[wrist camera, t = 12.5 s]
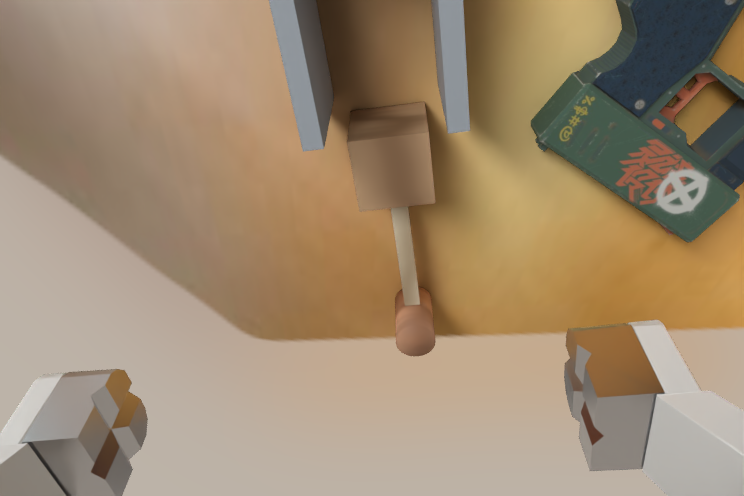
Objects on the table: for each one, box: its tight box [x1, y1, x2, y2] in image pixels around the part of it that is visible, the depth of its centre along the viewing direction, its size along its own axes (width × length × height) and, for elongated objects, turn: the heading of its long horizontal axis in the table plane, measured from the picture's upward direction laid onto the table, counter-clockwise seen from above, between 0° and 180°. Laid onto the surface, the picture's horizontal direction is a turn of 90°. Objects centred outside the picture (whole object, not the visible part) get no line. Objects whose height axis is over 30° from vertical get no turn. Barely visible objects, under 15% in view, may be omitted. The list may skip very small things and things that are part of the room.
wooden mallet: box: [347, 102, 435, 356], centre depth 43 cm, size 5×18×5 cm, turn 8°
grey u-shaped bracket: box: [269, 0, 470, 151], centre depth 33 cm, size 9×13×8 cm
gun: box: [531, 0, 744, 242], centre depth 39 cm, size 3×16×15 cm
